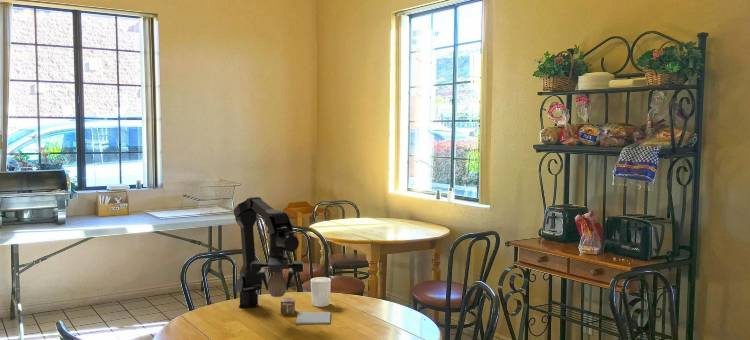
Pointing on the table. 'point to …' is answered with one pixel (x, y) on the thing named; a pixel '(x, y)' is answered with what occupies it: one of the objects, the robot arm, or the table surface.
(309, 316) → the grey mat
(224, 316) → the table surface
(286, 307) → the letter cube
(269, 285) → the vase
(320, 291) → the white cup
